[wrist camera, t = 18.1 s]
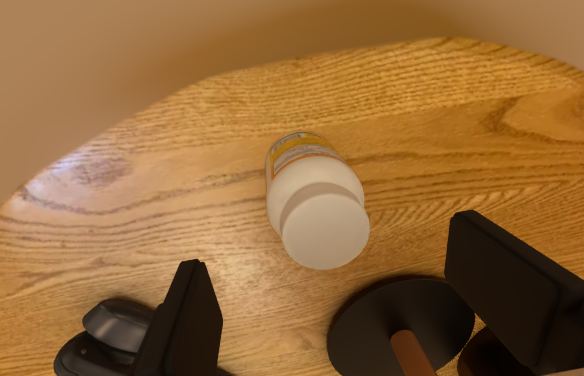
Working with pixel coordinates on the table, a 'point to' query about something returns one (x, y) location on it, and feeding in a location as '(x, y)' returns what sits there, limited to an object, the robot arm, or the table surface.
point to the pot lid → (400, 328)
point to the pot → (490, 358)
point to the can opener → (106, 341)
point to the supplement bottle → (315, 202)
